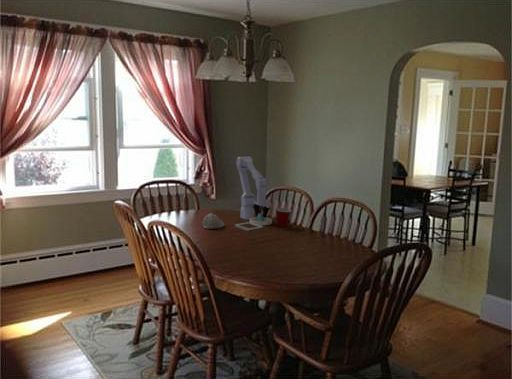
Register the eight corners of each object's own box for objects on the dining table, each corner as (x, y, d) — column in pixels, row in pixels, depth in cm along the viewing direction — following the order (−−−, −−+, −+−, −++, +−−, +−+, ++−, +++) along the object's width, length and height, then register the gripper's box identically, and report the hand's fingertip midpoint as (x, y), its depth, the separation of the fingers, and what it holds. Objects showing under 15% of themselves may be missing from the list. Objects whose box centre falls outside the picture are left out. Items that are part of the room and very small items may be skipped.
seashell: (226, 227, 304) (226, 212, 303) (210, 230, 294) (210, 215, 293) (214, 223, 313) (214, 209, 311) (197, 226, 303) (198, 211, 301)
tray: (234, 227, 304) (234, 224, 303) (248, 224, 312) (248, 222, 311) (248, 231, 293) (248, 228, 293) (262, 228, 301) (263, 226, 301)
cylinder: (256, 222, 315) (256, 213, 314) (260, 221, 317) (261, 213, 316) (260, 223, 312) (260, 214, 311) (264, 222, 314) (265, 214, 313)
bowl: (245, 223, 315) (245, 218, 315) (261, 220, 325) (261, 216, 324) (259, 227, 304) (260, 223, 304) (276, 224, 314) (276, 220, 314)
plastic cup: (291, 229, 302) (292, 210, 300) (274, 228, 302) (275, 210, 300) (290, 225, 313) (291, 207, 311) (274, 224, 313) (274, 207, 311)
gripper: (249, 195, 314) (249, 215, 316) (264, 198, 304) (263, 219, 306) (257, 194, 319) (257, 214, 321) (272, 197, 308) (271, 217, 310)
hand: (261, 216), depth 314 cm, fingers open, 7 cm apart
